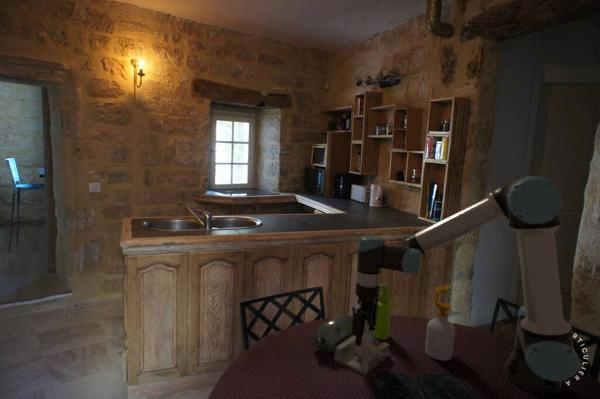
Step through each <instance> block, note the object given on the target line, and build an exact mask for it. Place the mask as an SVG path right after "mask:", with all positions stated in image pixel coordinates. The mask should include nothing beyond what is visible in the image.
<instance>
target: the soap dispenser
mask: <svg viewBox="0 0 600 399" xmlns="http://www.w3.org/2000/svg"><path fill="white" fill-rule="evenodd" d="M380 288H382V289H381V291H379V295H378V298H379V302H378V307H377V318H376V326H373V327H374V328H375V331H373V330H372V337H374V338H376V339H378V340H387V339H389V337H390V327H391V316H392V304H393V303H392V302H391V301H390V300H389V297H390V294H389V292H388V288H390V285H389V284H387V283H380V284H379V289H380Z"/></svg>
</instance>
